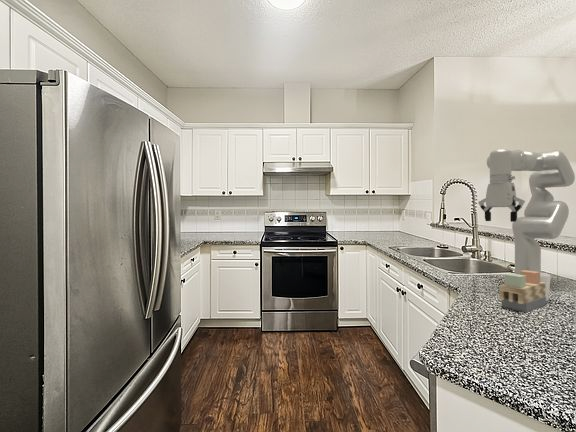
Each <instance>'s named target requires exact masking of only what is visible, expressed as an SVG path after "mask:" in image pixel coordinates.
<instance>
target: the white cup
mask: <svg viewBox="0 0 576 432" xmlns="http://www.w3.org/2000/svg"><path fill="white" fill-rule="evenodd" d="M540 282H544V283H545V297H546V302H548V301H549V300H550V299H549V298H550V297H549V296H550V289H551V288H550V287H551V274H549V273H546V272H541V273H540Z"/></svg>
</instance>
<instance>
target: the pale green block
mask: <svg viewBox="0 0 576 432" xmlns="http://www.w3.org/2000/svg"><path fill="white" fill-rule="evenodd" d="M504 284H505V286H510V287H516V288H523V287H526V275H519V274H515V273H504Z"/></svg>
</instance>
